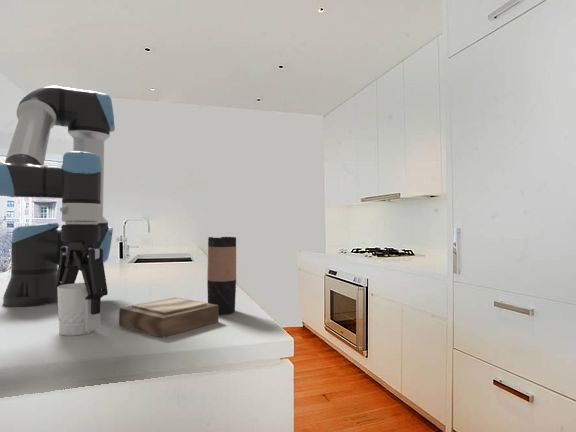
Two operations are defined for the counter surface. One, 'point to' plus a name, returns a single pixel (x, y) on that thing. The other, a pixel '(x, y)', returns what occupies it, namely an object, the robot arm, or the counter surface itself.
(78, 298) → the white cup
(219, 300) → the travel mug
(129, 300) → the counter surface
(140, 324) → the walnut riser
